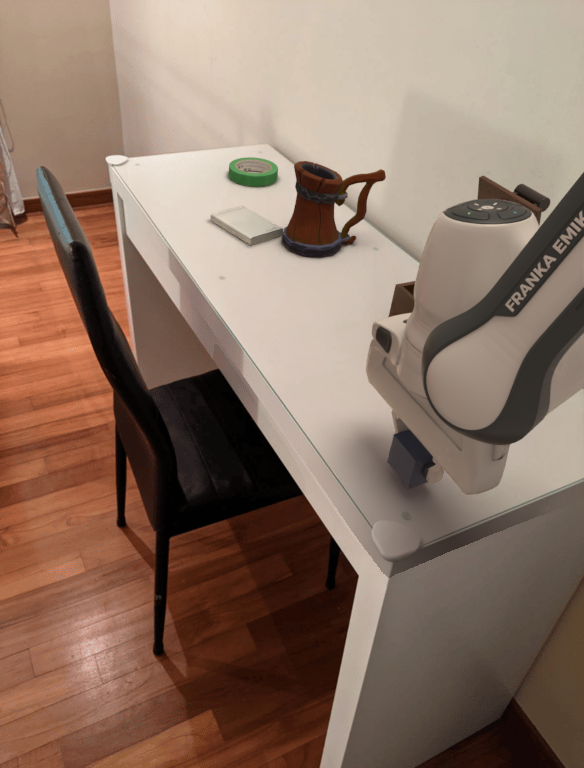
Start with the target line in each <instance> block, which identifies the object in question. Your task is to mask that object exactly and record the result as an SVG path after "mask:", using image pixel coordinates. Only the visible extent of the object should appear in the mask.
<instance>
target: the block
mask: <svg viewBox="0 0 584 768" xmlns="http://www.w3.org/2000/svg"><path fill="white" fill-rule="evenodd" d="M386 462H387V464H388V465H389V466H390V467H391V469H392V470H393V471H394V473H395V474H396V475H397V477H398V478H399V479H400V481H401V482H402V483H403V485H405V487H406V488H407V489H412V488H414V487H417V486H420V485H424V484H426V483H428V481H427V480H426V479H425V478H424V476H423V475H422V471H423V466H424V464H427V463H432V462H433V456H432V455H431V454H430V453H429V451H428V450H427V449H426V448H425V447H424V446H423V444H422V443H421V442H420V441H419V440H418V439H417V437H416V436H415V435H414V434H413V433H412V432H411V430H407V431H404V432H400V433H397V434H394V433H393V435H392V440H391V444H390V448H389V452H388V456H387V460H386Z"/></svg>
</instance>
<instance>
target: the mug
mask: <svg viewBox="0 0 584 768" xmlns="http://www.w3.org/2000/svg"><path fill="white" fill-rule="evenodd" d="M293 169H294V173H295V174H294V175H295V180H296V181H295V185H294V188H295V191H296V198H295V204H294V207H293V212H292V215H291V216H290V219H289V222H288V224H287V225H286V226H285V227H284V228H283V235H282V236H281V243H282V244H283V245H284V246H285V247H286V248H287V249H288V250H289V251H291V252H293V253H295V254H297V255H299V256H302V257H313V258H320V257H321V258H322V257H330V256H332V255H334V254H335V253H336V252H339V251H340V250H341V249H342V244H345V245H348V244H350V245H351V244H353V243H354V242H356V240H357V236H356V235H350V234H349V232H350V230H351V229H352V228H353V227H354V226H356V225H357V224H359V223H361V222H362V221H363V220H364V219H365V217H366V214H367V212H368V211H367V209H368V198H369V194H370V192H371V190H372V187H373V186H374V184H376V183H380V182H384V181H385V180H386V178H387V175H386V171H385V170H384V169H381V168H380V169H378V170H376V171H372V172H368V173H358V174H353V175H350V176H349V177H346V178H345V179H343V177H342V176H341V174H340V173H339V172H338V171H335V170H333V169H331V168H330V167H327V166H324V165H322V164H319V163H318V162H317V163H316V162H313V161H307V160H302V161H301V160H300V161H297V162H295V163H294V165H293ZM364 183H365V184H364ZM356 184H364V186H363V187H362V188H361V190H360V192H359V194H358V197H357V203H356V213H355V214H354V215H353V216H352V217H351V218H349V220H347V221H346V223H345V224H344V225H343V226H342V229H341V232H340V230H338V228H337V225H336V220H335V205H337V206H338V207H341V206H342V205H344V204H345V201H346V199H347V198H348V195H349V194H348V192H347V190H348V188H349V187H350V186H353V185H356Z"/></svg>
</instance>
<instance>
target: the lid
mask: <svg viewBox="0 0 584 768" xmlns="http://www.w3.org/2000/svg"><path fill="white" fill-rule="evenodd" d="M477 187H478V188H477V200H482V199H498V200H506V201H511V202H515V203H518V204H520V205H522V206H524V207H526V208H528V209H529V210H530V211H531V212H532V213H533V214H534V215H535V217H536V219H537V222H538V224H539V227H540V226H541V218H542V213H544V212H546V211H547V210H548V209H549V207H550V205H551V199H550V197H547V196H546V195H544V194H543V193H540V192H539V191H537V190H535V189H533V188H531V187H530V186H528V185H526V184H524V183H519V184H518V185H516V187H515V188H514V189H513V191H511V190H509V189H508V188H506V187H504V186H503V185H501V184H499V183H497V182H496V181H493V179H491V178H489V177H487V176H486V175H480V176H478V185H477Z"/></svg>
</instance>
